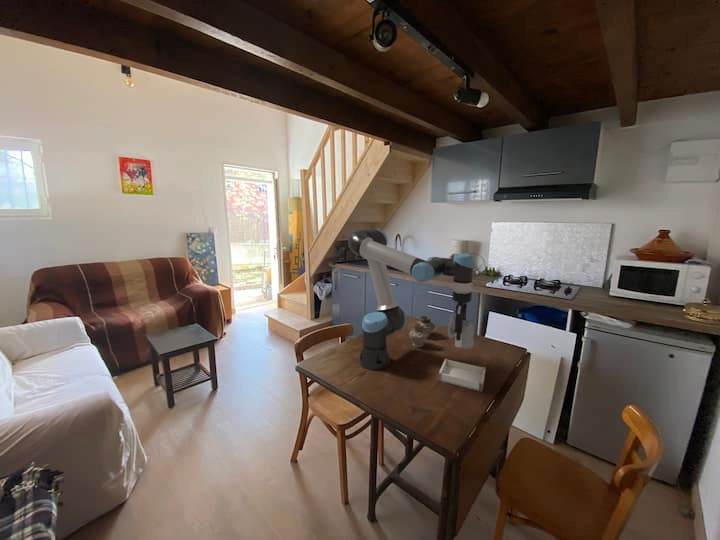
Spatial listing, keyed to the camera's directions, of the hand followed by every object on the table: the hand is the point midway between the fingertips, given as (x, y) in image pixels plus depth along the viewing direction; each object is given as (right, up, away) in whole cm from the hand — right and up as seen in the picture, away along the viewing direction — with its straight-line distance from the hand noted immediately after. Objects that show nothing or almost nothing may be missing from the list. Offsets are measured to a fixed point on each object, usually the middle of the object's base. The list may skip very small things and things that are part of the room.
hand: (459, 342), depth 126 cm
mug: (0, -1, +1) cm, 1 cm away
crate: (+2, -16, +2) cm, 16 cm away
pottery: (-8, -8, +40) cm, 42 cm away
